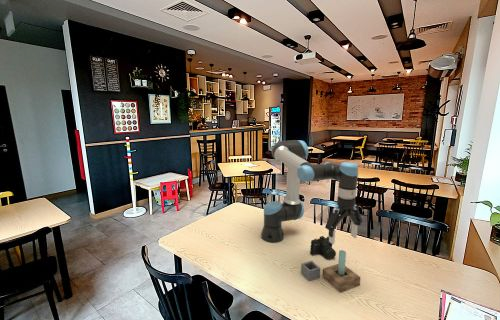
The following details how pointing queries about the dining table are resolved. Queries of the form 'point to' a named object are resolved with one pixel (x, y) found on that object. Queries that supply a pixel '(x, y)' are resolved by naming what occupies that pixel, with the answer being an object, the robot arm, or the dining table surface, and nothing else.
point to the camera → (322, 247)
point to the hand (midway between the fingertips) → (342, 239)
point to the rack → (341, 278)
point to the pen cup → (310, 270)
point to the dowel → (341, 263)
